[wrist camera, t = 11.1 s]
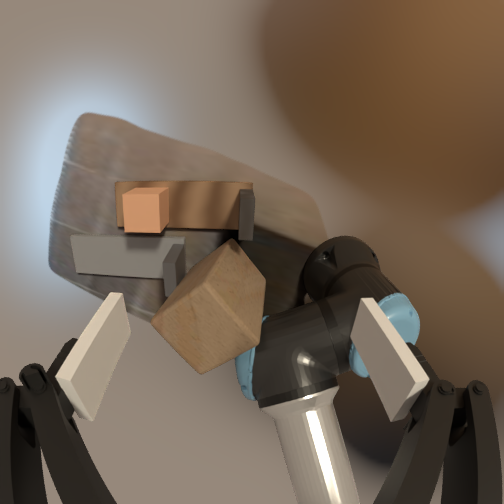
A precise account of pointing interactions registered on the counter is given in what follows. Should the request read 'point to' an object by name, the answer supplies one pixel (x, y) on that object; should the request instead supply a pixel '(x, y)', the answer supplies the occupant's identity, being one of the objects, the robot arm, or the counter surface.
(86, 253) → the grey l-shaped block
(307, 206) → the counter surface
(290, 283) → the counter surface
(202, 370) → the wooden block
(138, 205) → the terracotta cube
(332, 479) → the robot arm
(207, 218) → the walnut strip
